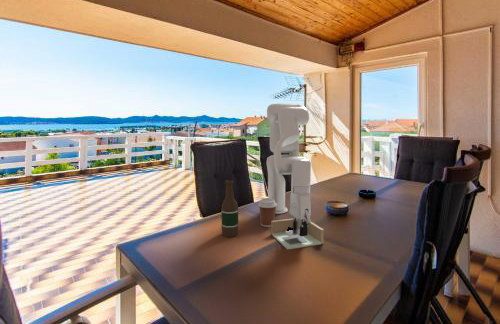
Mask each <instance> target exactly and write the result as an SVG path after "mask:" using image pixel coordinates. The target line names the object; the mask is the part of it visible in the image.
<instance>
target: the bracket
mask: <svg viewBox="0 0 500 324" xmlns="http://www.w3.org/2000/svg"><path fill="white" fill-rule="evenodd" d="M303 222H304V221H303ZM300 226H301V223H300V220H299V219H297V218H296V230H289V231H285V234H286V235H287V236H288V237H290V238H297V237H304V236H300Z"/></svg>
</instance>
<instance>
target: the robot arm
mask: <svg viewBox="0 0 500 324" xmlns="http://www.w3.org/2000/svg"><path fill="white" fill-rule="evenodd" d="M266 116H267V117H266V118H267V121H268V124H269V150H270V151H271V152H272V153H273V155H270V156H268V157H267V158H266V169H267V199H274V200H275V202H276V203H277V206H276V208H275V215H276V214H278V215H279V214H285V213H287V212H288V210H289V214H290V215H291V216H292V219H293V221H294V222H293V230H296V218H297V219H299V220H300V223H301V226H300V236H307V232H308V224H309V223H310V222H312V219H311V215H312V214H311V213H312V211H311V207H312V206H311V195H310V194H311V175H312V174H311V169H312V165H311V161H310V159H308V158H306V157H305V156H299V155H300V140H299V139H300V137H301V135H300V134H301V133H300V129H299V126H306V125H307V124H308V123H309V120H310V113H309V110H308V109H307V108H306V107H305V106H303V105H302V104H300V103H272V104H269V105H268V106H267V109H266ZM288 153H289V154H288ZM284 175H291V176H290V177H291V180H290V181H291V184H290V185H291V188H290V189H291V192H290V197H289V198H290V199H289V209H288V207H287V206H286V179H285V177H284ZM303 220H305V221H304V222H303Z"/></svg>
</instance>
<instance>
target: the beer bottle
mask: <svg viewBox="0 0 500 324" xmlns="http://www.w3.org/2000/svg"><path fill="white" fill-rule="evenodd" d="M224 183H225V197H224V199H223V201H222V204H221V212H220V213H221V236H222V237H226V238H234V237H236V236H237V237H238V236H239V207H238V206H239V205H238V202H237V200H236V199H235V195H234V194H235V193H234V180H233V179H226V180H225V182H224Z"/></svg>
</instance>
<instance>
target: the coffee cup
mask: <svg viewBox="0 0 500 324" xmlns="http://www.w3.org/2000/svg"><path fill="white" fill-rule="evenodd" d="M257 206H258V207H259V216H260V217H259V218H260V225H261V226H262V227H265V228H266V227H267V228H270V227H271V221H275V220H276V219H275V218H276V216H275V215H276V214H275V208H276V206H277V203H276V202H275V200H274V199H268V198H261V199H260V200H259V202H258V203H257Z"/></svg>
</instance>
